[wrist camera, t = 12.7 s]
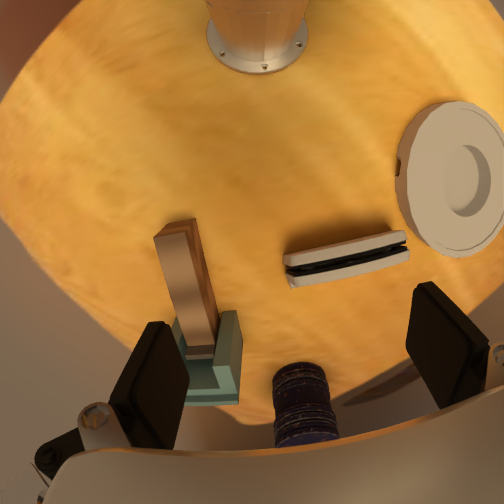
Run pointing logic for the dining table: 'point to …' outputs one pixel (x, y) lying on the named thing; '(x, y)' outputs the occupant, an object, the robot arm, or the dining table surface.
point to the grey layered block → (363, 249)
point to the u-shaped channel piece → (215, 366)
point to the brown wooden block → (189, 287)
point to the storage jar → (302, 406)
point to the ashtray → (452, 178)
